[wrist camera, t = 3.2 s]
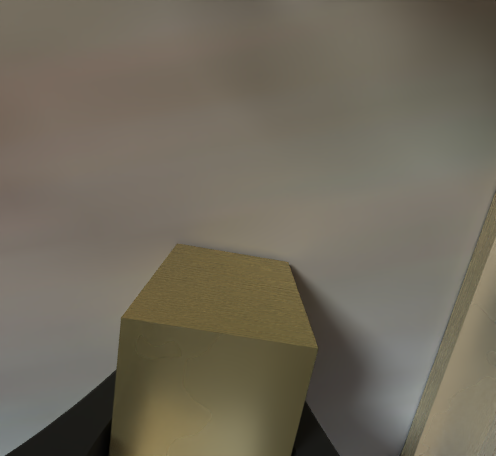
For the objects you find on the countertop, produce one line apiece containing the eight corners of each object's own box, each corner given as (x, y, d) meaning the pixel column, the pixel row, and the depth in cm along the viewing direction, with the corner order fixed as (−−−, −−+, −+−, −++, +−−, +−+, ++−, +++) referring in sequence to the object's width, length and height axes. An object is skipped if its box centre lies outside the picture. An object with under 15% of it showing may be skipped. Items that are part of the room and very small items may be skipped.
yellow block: (245, 462, 12) (242, 643, 8) (151, 449, 12) (93, 625, 7) (288, 262, 10) (318, 348, 6) (177, 243, 10) (121, 317, 6)
